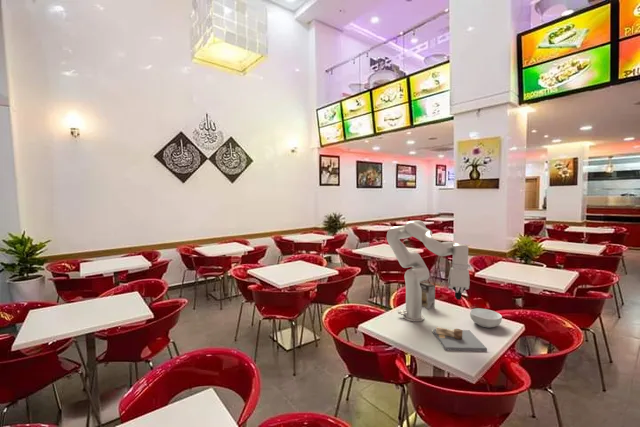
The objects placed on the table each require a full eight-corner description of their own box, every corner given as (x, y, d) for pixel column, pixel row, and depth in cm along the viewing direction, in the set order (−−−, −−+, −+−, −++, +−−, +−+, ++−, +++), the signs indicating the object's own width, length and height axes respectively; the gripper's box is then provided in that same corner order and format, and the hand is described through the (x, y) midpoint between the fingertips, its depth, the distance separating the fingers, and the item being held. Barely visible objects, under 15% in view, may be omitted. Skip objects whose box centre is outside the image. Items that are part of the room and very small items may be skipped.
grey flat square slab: (445, 350, 152) (445, 347, 152) (433, 332, 172) (433, 329, 172) (486, 351, 151) (486, 347, 151) (469, 332, 171) (469, 330, 171)
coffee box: (418, 305, 214) (418, 282, 213) (425, 303, 217) (425, 281, 216) (427, 309, 206) (428, 286, 205) (435, 307, 208) (435, 284, 207)
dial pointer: (462, 337, 162) (462, 329, 162) (461, 340, 158) (461, 332, 158) (437, 331, 169) (437, 324, 168) (435, 334, 165) (435, 327, 165)
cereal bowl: (494, 334, 169) (495, 321, 169) (464, 324, 182) (465, 312, 181) (506, 325, 180) (506, 313, 179) (477, 317, 193) (477, 306, 192)
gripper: (471, 265, 170) (469, 297, 171) (443, 264, 171) (442, 296, 172) (476, 268, 162) (475, 302, 164) (448, 267, 163) (446, 300, 165)
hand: (458, 298), depth 168 cm, fingers closed
